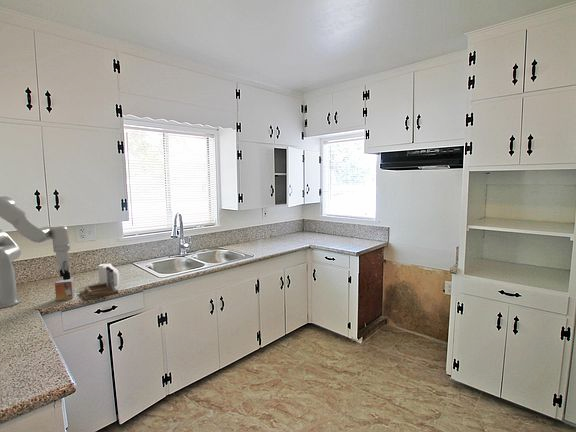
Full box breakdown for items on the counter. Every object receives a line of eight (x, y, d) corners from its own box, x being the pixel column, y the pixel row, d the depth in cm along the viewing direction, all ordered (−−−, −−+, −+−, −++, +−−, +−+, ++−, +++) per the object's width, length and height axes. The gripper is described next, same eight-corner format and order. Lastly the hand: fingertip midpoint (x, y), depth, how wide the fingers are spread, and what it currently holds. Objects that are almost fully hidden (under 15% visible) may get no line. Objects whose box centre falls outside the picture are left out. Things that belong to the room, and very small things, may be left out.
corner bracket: (101, 281, 214) (100, 264, 212) (120, 280, 217) (119, 262, 216) (97, 286, 203) (96, 268, 202) (117, 284, 207) (116, 266, 206)
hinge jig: (79, 293, 191) (77, 270, 189) (110, 287, 202) (109, 265, 201) (85, 300, 180) (83, 275, 178) (118, 293, 192) (116, 269, 190)
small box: (55, 301, 179) (54, 283, 178) (58, 298, 184) (56, 280, 183) (72, 299, 182) (71, 281, 181) (74, 295, 187) (73, 278, 186)
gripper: (51, 247, 184) (54, 276, 186) (56, 251, 171) (59, 282, 173) (66, 245, 189) (70, 273, 191) (72, 249, 176) (76, 279, 178)
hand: (65, 277), depth 182 cm, fingers open, 9 cm apart
